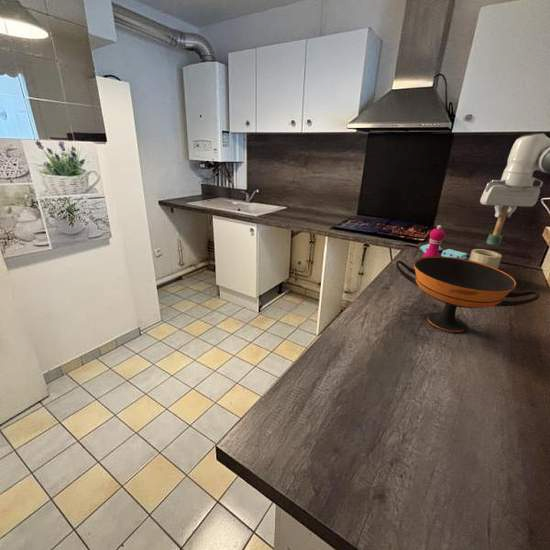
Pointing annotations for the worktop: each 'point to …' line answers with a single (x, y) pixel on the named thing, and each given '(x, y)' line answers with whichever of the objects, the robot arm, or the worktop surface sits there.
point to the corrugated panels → (447, 252)
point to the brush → (498, 228)
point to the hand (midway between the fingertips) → (502, 217)
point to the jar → (486, 257)
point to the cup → (462, 287)
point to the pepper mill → (435, 242)
